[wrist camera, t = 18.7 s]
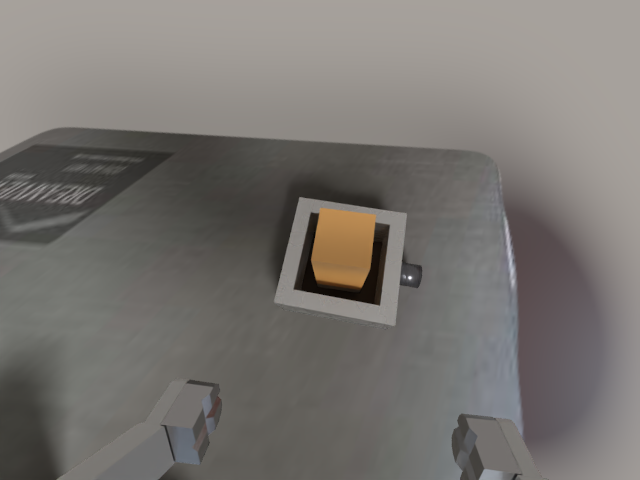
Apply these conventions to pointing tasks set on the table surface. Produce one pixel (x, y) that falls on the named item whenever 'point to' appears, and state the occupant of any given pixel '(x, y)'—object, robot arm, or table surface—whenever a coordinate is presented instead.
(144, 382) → the table surface
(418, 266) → the white shallow box
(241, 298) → the table surface
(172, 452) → the robot arm
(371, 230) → the plug
